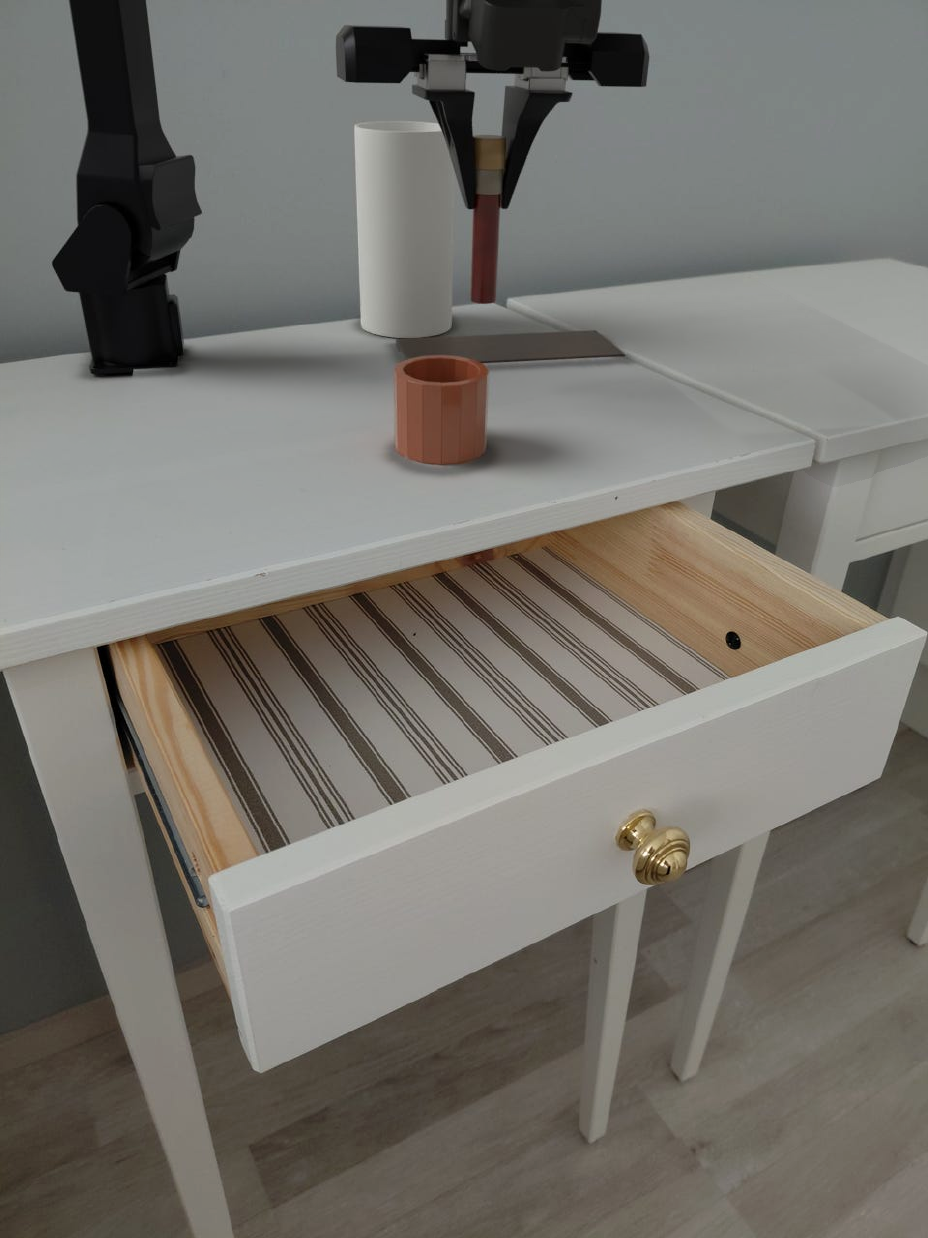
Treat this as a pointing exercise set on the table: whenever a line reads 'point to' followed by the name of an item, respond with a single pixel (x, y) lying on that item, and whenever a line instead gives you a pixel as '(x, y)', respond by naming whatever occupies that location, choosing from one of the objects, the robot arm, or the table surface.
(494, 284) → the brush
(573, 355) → the mat
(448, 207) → the cup
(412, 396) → the pot
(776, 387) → the table surface
